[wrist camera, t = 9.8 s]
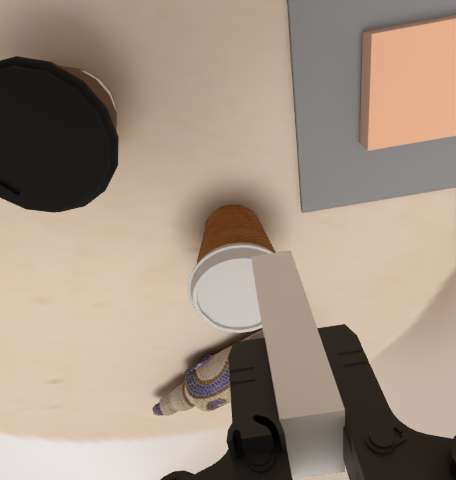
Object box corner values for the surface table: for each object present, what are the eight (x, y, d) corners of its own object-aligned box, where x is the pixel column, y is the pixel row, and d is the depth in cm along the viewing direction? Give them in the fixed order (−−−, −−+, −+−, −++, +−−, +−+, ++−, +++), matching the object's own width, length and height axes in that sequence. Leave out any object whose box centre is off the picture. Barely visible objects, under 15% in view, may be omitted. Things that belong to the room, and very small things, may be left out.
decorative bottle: (287, 300, 51) (298, 338, 45) (313, 332, 54) (327, 371, 49) (138, 380, 57) (131, 421, 52) (170, 404, 61) (167, 445, 55)
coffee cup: (98, 182, 40) (62, 243, 30) (-2, 109, 36) (-84, 153, 26) (163, 102, 36) (147, 142, 26) (59, 10, 32) (-8, 16, 22)
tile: (371, 34, 31) (483, 13, 31) (361, 31, 34) (465, 12, 33) (367, 150, 37) (463, 134, 36) (358, 142, 39) (448, 127, 38)
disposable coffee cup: (290, 216, 44) (316, 282, 34) (244, 274, 48) (254, 348, 38) (219, 176, 41) (224, 234, 31) (176, 241, 45) (167, 312, 35)
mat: (283, -54, 31) (285, -54, 30) (513, -98, 30) (519, -100, 29) (301, 210, 43) (302, 212, 43) (463, 183, 43) (466, 185, 42)
